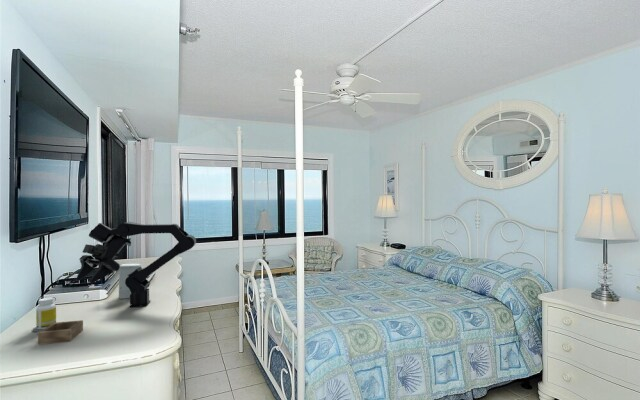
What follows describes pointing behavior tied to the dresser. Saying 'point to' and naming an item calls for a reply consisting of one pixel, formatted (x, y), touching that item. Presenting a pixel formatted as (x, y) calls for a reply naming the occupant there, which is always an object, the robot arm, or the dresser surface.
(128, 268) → the skincare box
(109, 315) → the dresser surface
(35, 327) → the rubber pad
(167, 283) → the dresser surface
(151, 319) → the dresser surface
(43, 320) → the supplement bottle
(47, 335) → the wooden tray
